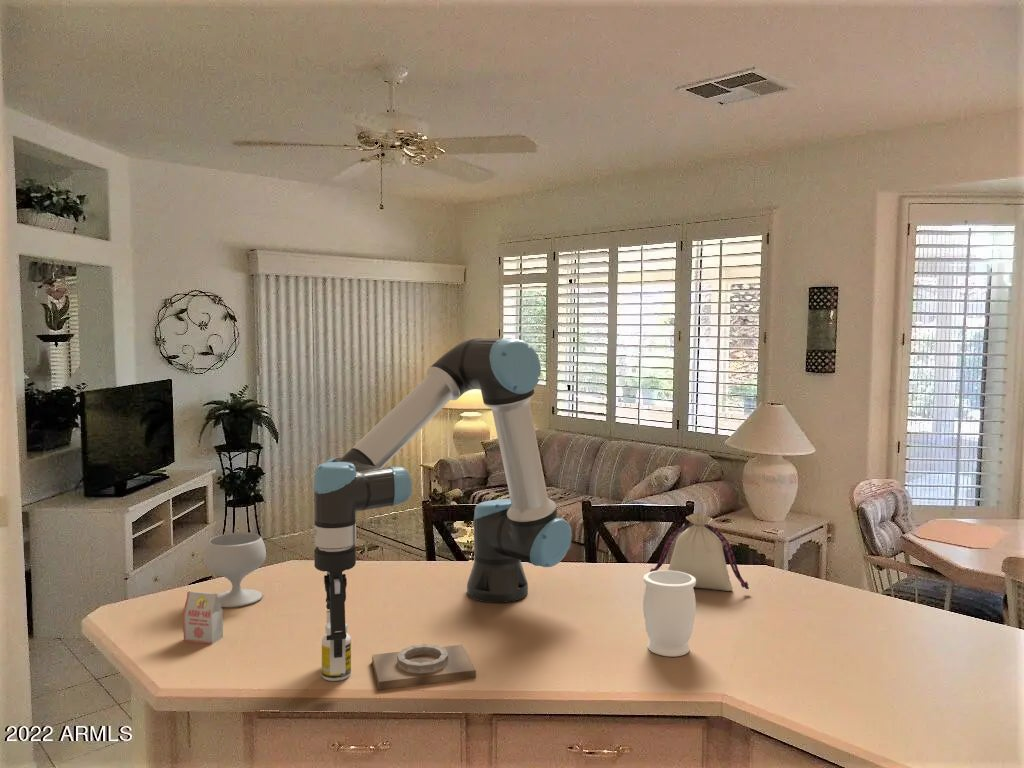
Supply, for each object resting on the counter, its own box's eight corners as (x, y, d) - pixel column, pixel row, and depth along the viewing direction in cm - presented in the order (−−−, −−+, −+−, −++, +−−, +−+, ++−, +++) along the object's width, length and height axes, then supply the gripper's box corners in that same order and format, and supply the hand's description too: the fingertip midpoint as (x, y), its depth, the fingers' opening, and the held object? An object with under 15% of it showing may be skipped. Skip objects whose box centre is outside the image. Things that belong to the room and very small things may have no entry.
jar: (664, 664, 148) (665, 588, 147) (632, 644, 157) (633, 573, 156) (705, 653, 153) (707, 580, 152) (672, 635, 162) (673, 566, 161)
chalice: (279, 596, 185) (278, 536, 184) (230, 614, 173) (229, 550, 172) (241, 586, 193) (240, 528, 192) (192, 602, 181) (191, 540, 180)
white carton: (194, 634, 162) (193, 588, 161) (223, 637, 160) (221, 591, 160) (183, 641, 158) (182, 594, 158) (212, 644, 157) (211, 596, 156)
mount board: (462, 651, 153) (462, 637, 153) (475, 677, 142) (475, 662, 142) (372, 662, 148) (372, 647, 148) (378, 689, 137) (378, 673, 137)
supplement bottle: (344, 683, 140) (343, 631, 139) (316, 680, 141) (316, 629, 140) (355, 670, 145) (355, 620, 144) (329, 668, 146) (328, 618, 145)
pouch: (748, 587, 193) (750, 514, 192) (748, 598, 185) (750, 521, 184) (650, 577, 200) (651, 506, 199) (645, 587, 193) (647, 514, 191)
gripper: (312, 530, 152) (313, 634, 153) (316, 567, 128) (317, 689, 129) (350, 528, 154) (351, 630, 155) (361, 564, 130) (361, 684, 131)
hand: (335, 657), depth 142 cm, fingers open, 13 cm apart
